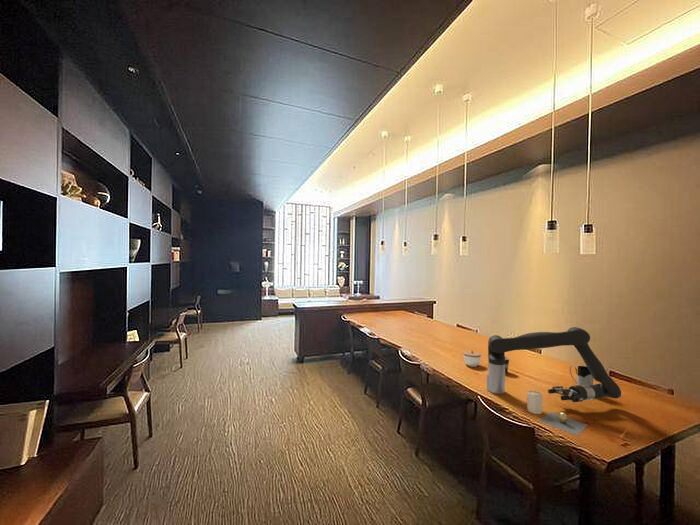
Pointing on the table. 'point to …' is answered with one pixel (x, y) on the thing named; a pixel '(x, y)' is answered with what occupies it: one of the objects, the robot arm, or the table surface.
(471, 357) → the lidded bowl
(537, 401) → the cup
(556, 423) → the slate mat
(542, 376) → the table surface
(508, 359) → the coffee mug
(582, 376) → the glass holder
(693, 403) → the table surface
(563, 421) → the brass candle
